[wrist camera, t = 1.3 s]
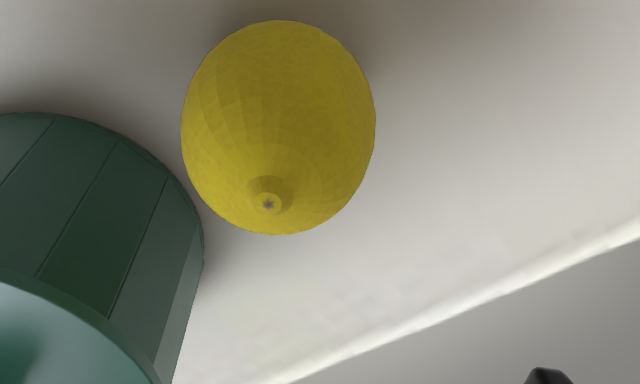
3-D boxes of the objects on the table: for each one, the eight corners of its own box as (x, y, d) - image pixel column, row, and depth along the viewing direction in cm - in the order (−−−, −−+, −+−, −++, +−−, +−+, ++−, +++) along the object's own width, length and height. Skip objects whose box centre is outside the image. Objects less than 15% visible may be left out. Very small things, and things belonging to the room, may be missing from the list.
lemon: (370, 132, 21) (386, 286, 15) (223, 140, 22) (176, 294, 15) (366, -20, 18) (384, 90, 12) (194, -8, 18) (118, 106, 12)
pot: (-118, 229, 25) (-281, 390, 18) (10, 49, 20) (-149, 180, 13) (110, 355, 29) (45, 520, 23) (259, 233, 24) (231, 398, 18)
